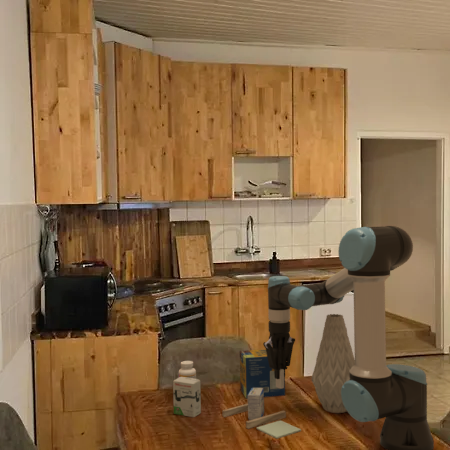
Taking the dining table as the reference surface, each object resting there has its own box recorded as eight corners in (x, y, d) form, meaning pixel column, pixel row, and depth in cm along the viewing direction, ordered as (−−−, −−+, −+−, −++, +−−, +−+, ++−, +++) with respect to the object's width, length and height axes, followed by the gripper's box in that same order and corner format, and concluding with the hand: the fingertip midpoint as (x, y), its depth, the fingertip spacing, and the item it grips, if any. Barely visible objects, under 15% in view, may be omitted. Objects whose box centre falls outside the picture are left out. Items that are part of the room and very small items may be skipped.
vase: (308, 415, 197) (306, 319, 196) (315, 399, 213) (314, 310, 212) (359, 419, 192) (357, 320, 191) (362, 403, 208) (361, 311, 207)
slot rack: (285, 417, 196) (285, 411, 196) (248, 428, 187) (248, 422, 187) (259, 406, 208) (259, 400, 208) (222, 416, 198) (222, 410, 198)
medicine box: (261, 420, 193) (260, 395, 193) (247, 420, 194) (247, 394, 194) (264, 412, 201) (263, 387, 201) (251, 411, 202) (251, 387, 202)
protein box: (239, 390, 226) (239, 350, 226) (278, 387, 229) (277, 348, 228) (245, 399, 216) (244, 357, 215) (285, 395, 218) (285, 354, 218)
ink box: (172, 414, 202) (172, 380, 201) (180, 409, 206) (179, 376, 206) (194, 417, 198) (193, 383, 197) (201, 413, 202) (200, 379, 202)
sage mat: (301, 430, 184) (301, 429, 184) (276, 438, 178) (276, 437, 178) (280, 421, 192) (280, 420, 192) (256, 429, 186) (256, 427, 186)
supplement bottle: (176, 394, 222) (175, 361, 222) (192, 392, 225) (191, 359, 225) (182, 399, 216) (181, 365, 216) (199, 397, 219) (198, 363, 219)
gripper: (286, 316, 210) (286, 381, 211) (257, 321, 202) (258, 388, 203) (300, 319, 204) (301, 386, 205) (271, 325, 196) (272, 394, 197)
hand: (279, 387), depth 204 cm, fingers closed
